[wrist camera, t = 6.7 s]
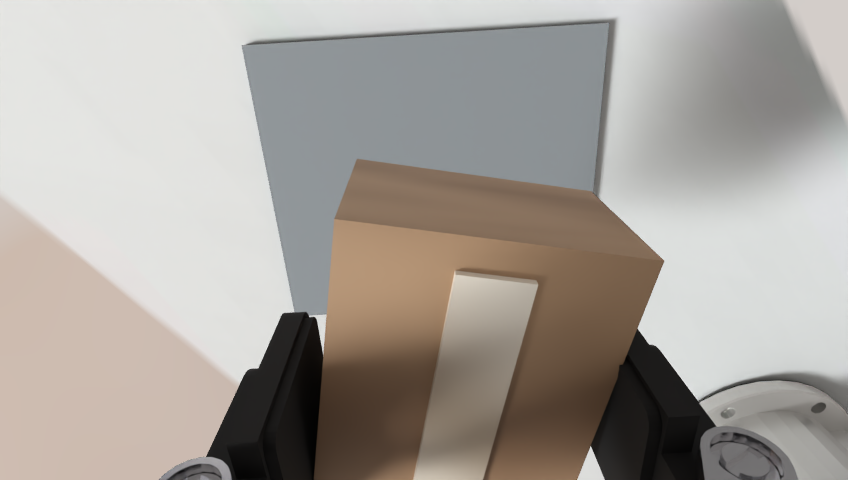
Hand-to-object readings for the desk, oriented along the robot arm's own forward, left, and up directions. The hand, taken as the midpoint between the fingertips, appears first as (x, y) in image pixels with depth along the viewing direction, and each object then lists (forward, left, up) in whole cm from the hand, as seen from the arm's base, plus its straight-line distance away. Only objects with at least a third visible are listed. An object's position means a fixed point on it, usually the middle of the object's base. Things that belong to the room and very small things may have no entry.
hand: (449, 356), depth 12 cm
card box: (0, 0, -1) cm, 1 cm away
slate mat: (0, 0, -14) cm, 14 cm away
